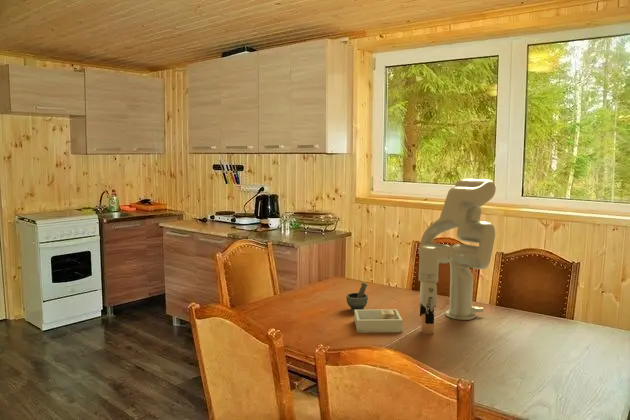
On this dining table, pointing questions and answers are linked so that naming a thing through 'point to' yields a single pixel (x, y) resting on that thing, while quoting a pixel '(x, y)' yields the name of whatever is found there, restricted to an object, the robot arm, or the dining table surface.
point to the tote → (377, 321)
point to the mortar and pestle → (358, 299)
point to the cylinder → (426, 326)
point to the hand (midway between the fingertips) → (426, 319)
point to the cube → (387, 314)
